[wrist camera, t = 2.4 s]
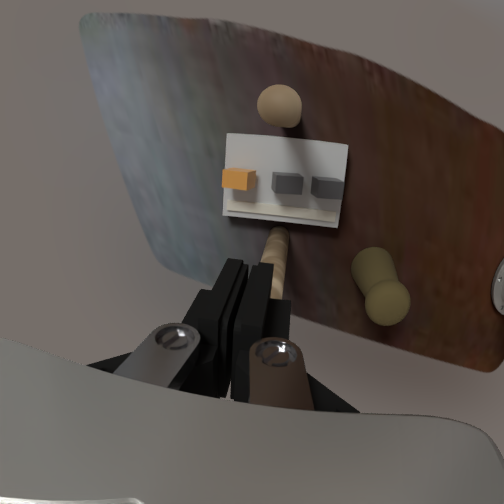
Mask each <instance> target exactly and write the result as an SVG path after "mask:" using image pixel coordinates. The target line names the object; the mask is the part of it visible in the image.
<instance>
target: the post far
mask: <svg viewBox="0 0 504 504" xmlns="http://www.w3.org/2000/svg"><path fill="white" fill-rule="evenodd" d="M288 243H289V232H288V230H287V229H286V228H285V227H283V226H275V227H273V228H272V229H271V230H270V232H269V236H268V239H267V242H266V246H265V249H264V253H263V256H262V259H261V262H264V263H272V264H274V270H273V279H272V289H271V298H273V299H281V300H282V293H283V285H284V277H285V269H286V261H287V252H288Z"/></svg>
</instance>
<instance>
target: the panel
mask: <svg viewBox="0 0 504 504" xmlns="http://www.w3.org/2000/svg"><path fill="white" fill-rule="evenodd" d="M347 153H348V145H346V144H339V143H332V142H324V141H316V140H308V139H299V138H289V137H278V136H266V135H253V134H237V133H227V141H226V159H225V169H228V168H232V167H233V168H242V169H250V170H256V181H255V188H252V189H249V190H247V191H246V190H239V189H232V188H225V187H224V200H223V215H225V216H235V217H245V218H254V219H264V220H273V221H282V222H291V223H300V224H308V225H316V226H325V227H333V228H338V222H339V215H340V208H341V201H342V200H337V199H323V198H316V197H315V196H313V195H312V194H311V193H310V192H311V183H312V176H318V177H329V178H337V179H339V180H341V181H343V182H344V179H345V171H346V162H347ZM273 172H285V173H298V174H300V175H301V176H303V177H304V180H303V190H302V195H295V194H277V193H274V192H273V190H272V189H271V185H272V173H273Z"/></svg>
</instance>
